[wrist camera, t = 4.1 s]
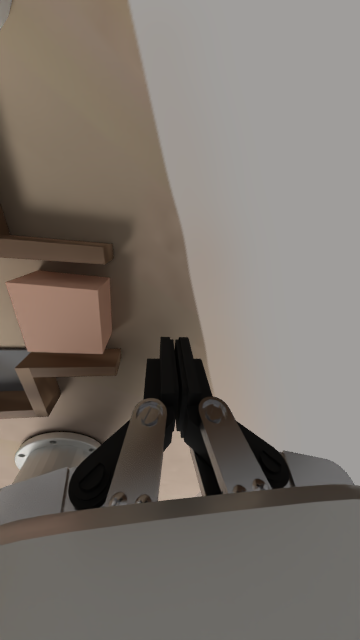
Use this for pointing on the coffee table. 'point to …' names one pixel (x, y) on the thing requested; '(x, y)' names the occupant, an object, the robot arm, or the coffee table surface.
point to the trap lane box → (43, 367)
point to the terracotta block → (62, 311)
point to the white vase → (4, 11)
